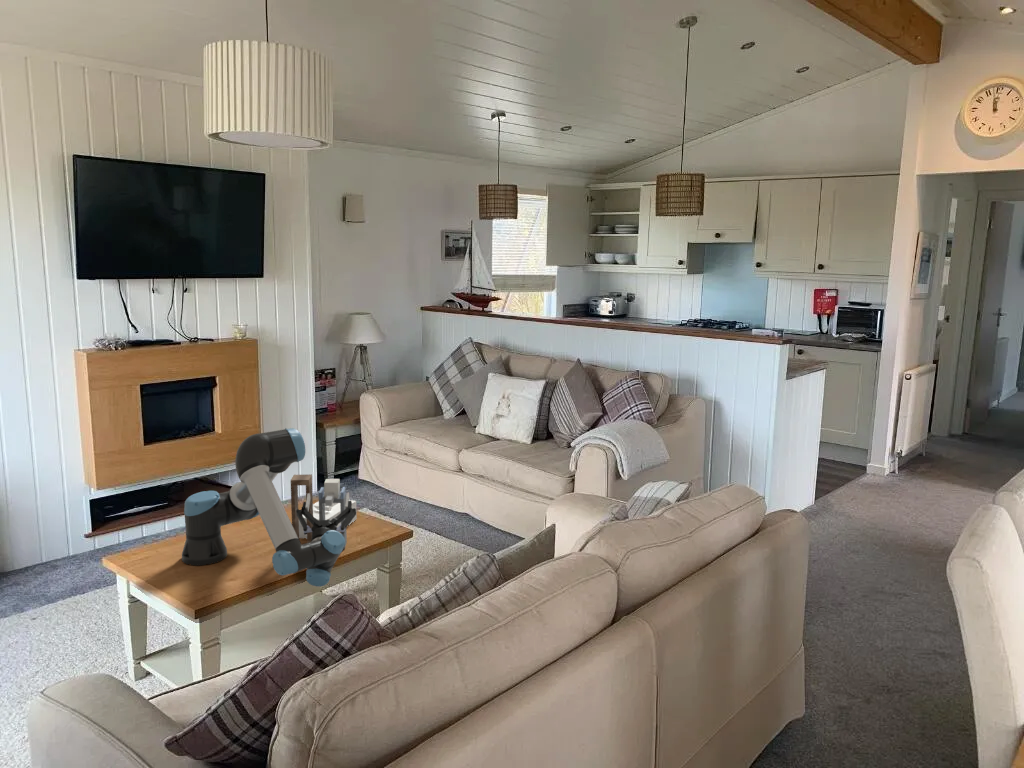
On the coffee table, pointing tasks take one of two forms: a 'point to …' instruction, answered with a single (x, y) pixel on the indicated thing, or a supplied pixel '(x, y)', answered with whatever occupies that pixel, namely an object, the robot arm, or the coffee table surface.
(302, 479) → the tall stand
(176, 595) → the coffee table surface
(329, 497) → the plug
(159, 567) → the coffee table surface
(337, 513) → the tissue box
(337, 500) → the short stand
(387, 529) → the coffee table surface
